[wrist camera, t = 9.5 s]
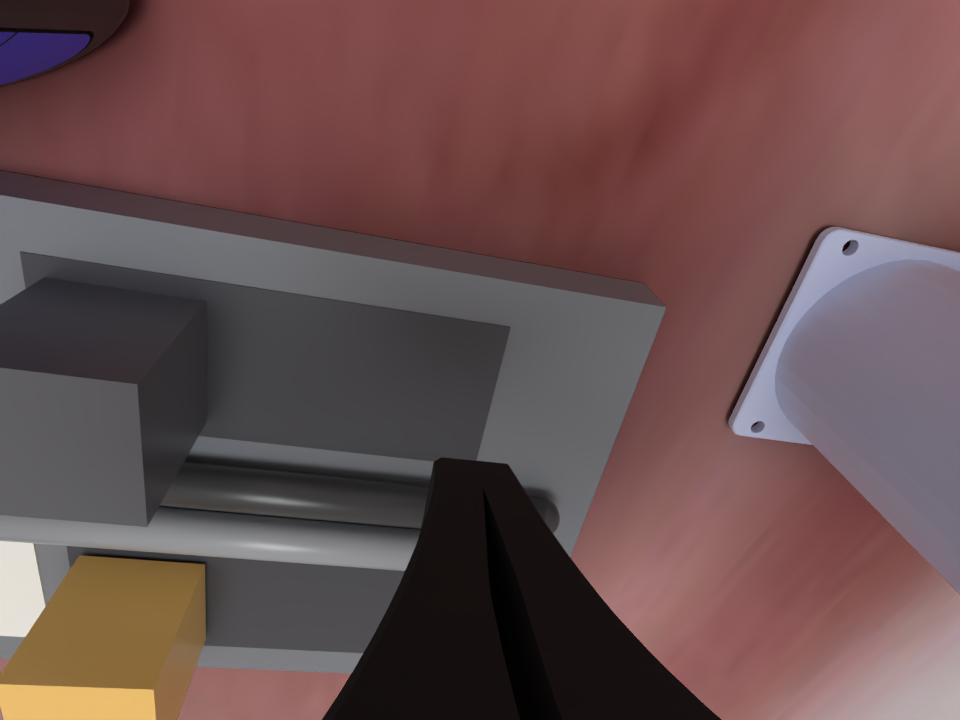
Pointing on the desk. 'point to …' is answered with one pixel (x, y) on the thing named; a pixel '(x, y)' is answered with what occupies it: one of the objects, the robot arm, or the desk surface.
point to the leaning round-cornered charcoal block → (52, 33)
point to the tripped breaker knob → (110, 644)
